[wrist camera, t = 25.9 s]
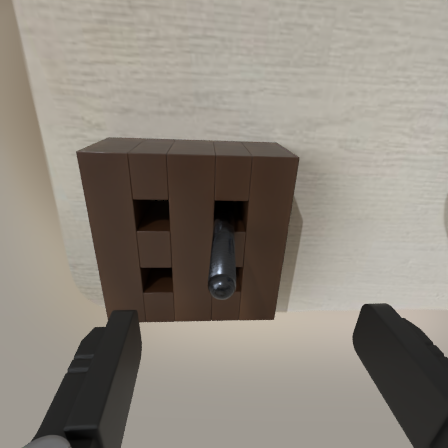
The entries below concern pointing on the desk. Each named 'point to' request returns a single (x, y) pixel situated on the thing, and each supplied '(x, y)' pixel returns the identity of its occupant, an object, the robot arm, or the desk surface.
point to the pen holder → (186, 223)
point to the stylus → (223, 252)
